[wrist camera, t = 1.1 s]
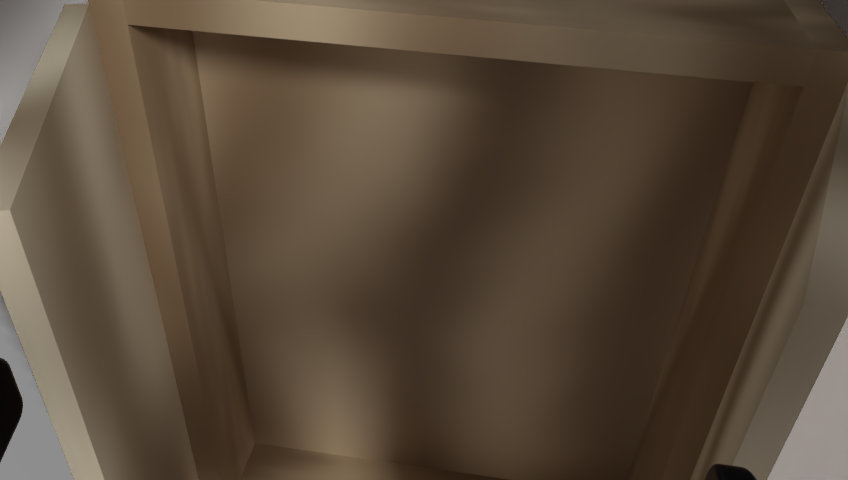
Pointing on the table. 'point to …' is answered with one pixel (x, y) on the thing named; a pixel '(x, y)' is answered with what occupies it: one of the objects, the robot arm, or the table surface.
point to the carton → (463, 222)
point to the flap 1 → (86, 272)
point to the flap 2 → (790, 322)
